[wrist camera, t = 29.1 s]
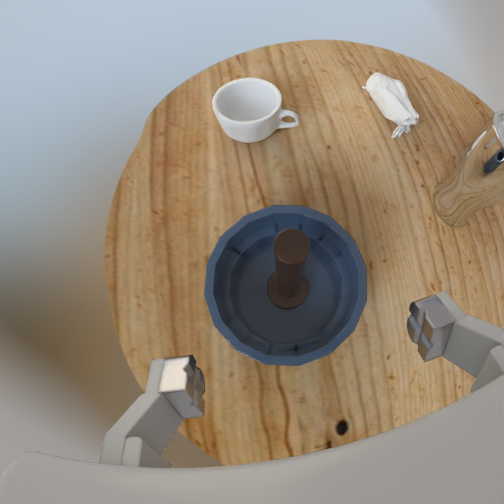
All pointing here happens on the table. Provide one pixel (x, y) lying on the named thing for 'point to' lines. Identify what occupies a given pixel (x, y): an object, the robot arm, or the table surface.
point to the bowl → (256, 278)
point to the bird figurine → (392, 102)
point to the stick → (289, 269)
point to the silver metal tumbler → (474, 176)
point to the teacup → (250, 109)
